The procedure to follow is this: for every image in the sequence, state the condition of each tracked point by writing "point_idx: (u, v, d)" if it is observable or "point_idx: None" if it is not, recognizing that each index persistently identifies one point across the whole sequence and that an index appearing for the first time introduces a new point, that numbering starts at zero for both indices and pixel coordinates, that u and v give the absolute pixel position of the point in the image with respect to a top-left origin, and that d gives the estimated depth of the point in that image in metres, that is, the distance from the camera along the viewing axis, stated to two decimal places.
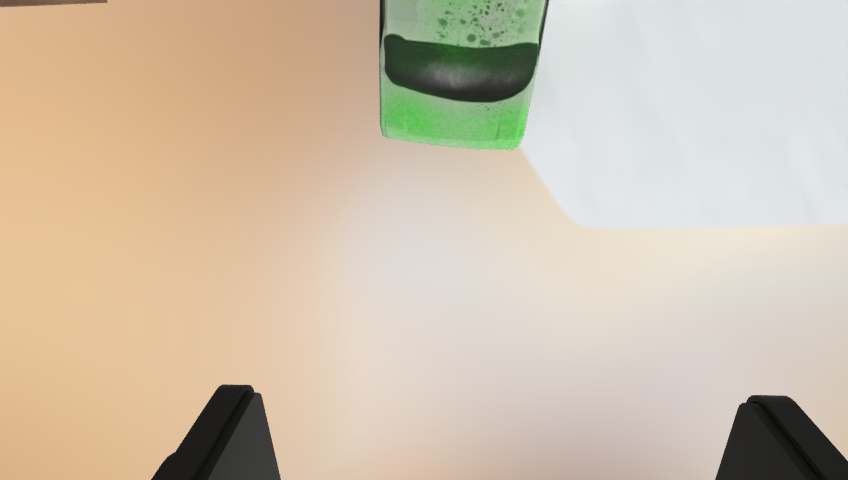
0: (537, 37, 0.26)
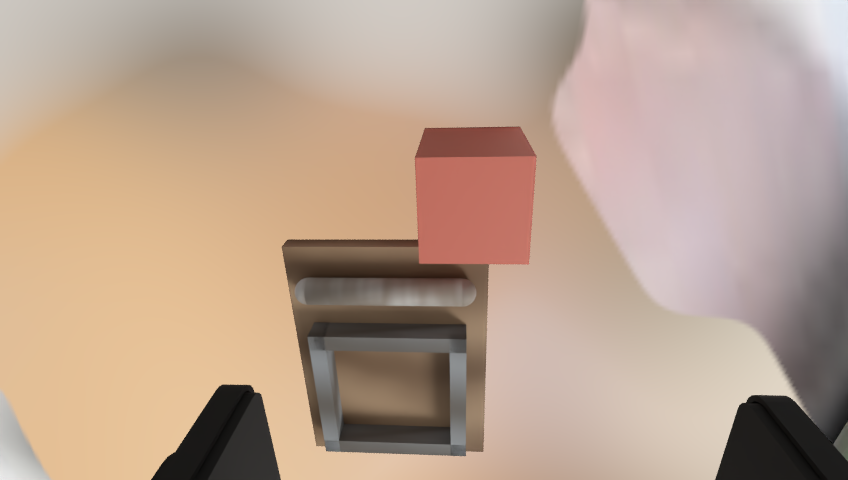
0: None
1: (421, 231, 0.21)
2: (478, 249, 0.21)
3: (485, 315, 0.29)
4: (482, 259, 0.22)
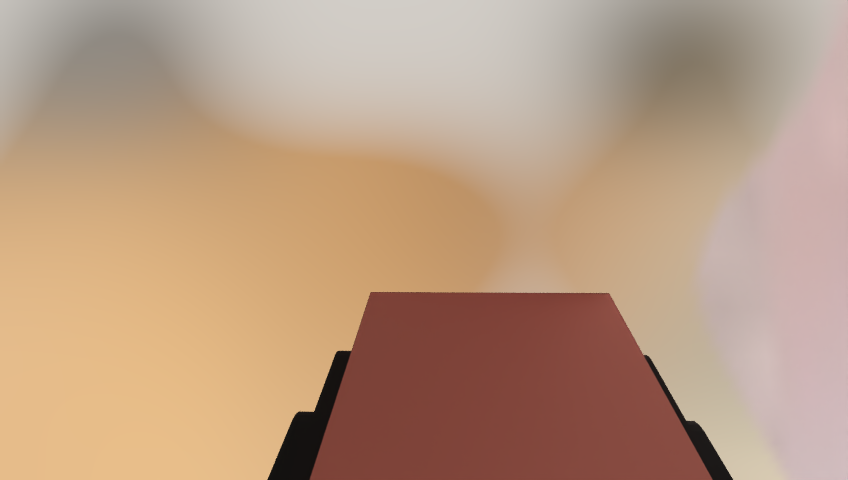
0: None
1: None
2: None
3: None
4: None
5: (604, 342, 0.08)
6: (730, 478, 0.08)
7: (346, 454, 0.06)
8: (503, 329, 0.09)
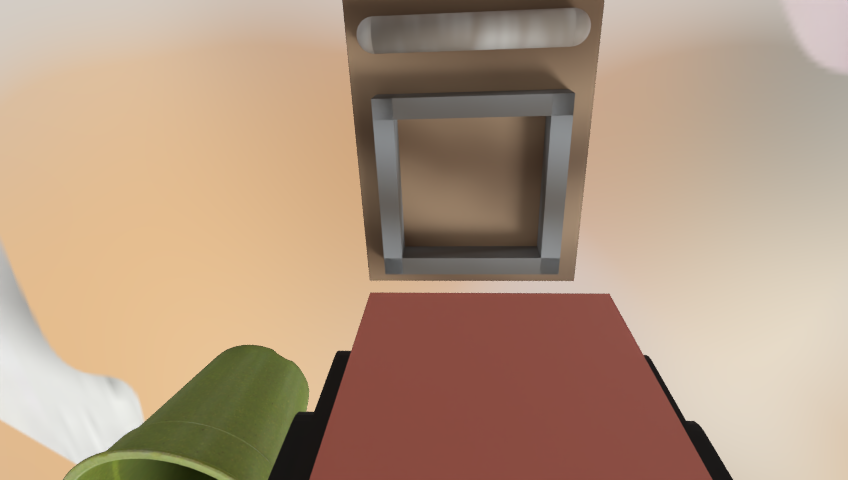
0: None
1: None
2: None
3: (594, 73, 0.23)
4: None
5: (604, 343, 0.08)
6: (730, 478, 0.08)
7: (345, 455, 0.06)
8: (503, 330, 0.09)
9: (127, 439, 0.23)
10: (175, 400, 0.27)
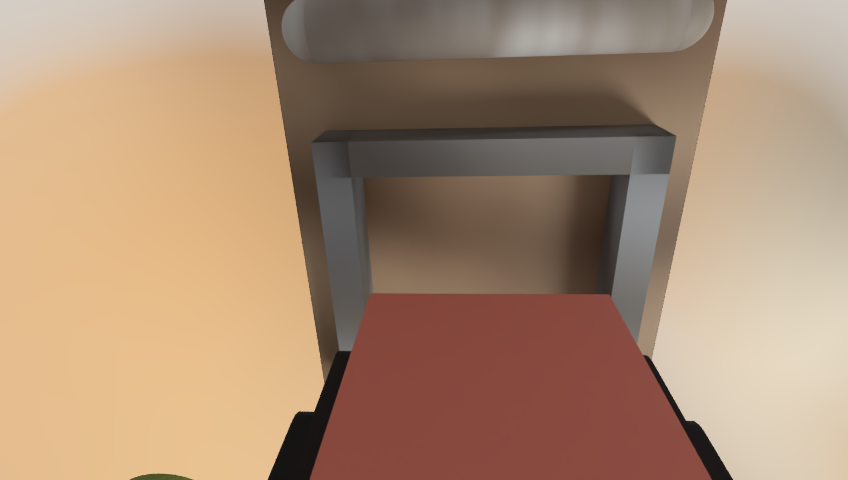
0: None
1: None
2: None
3: (702, 98, 0.13)
4: None
5: (604, 343, 0.08)
6: (730, 478, 0.08)
7: (345, 456, 0.06)
8: (503, 330, 0.09)
9: None
10: None
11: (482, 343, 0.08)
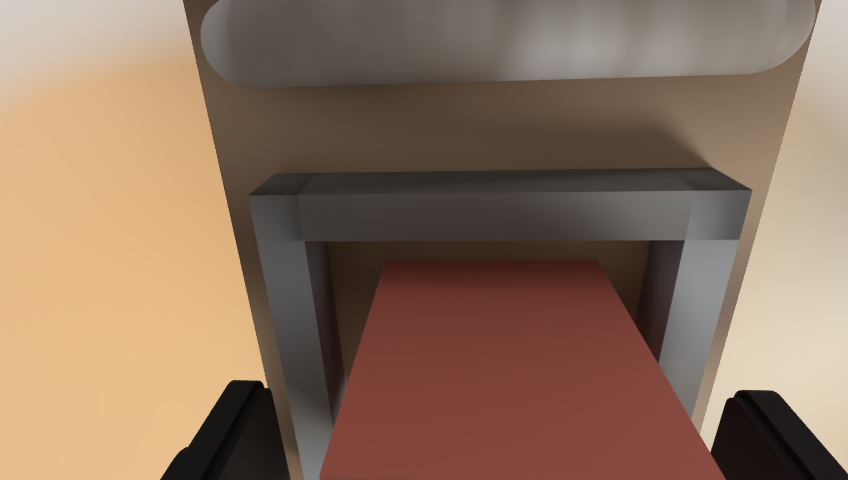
0: None
1: None
2: None
3: (778, 134, 0.10)
4: None
5: (591, 297, 0.10)
6: None
7: (372, 379, 0.08)
8: (503, 288, 0.10)
9: None
10: None
11: (485, 297, 0.10)
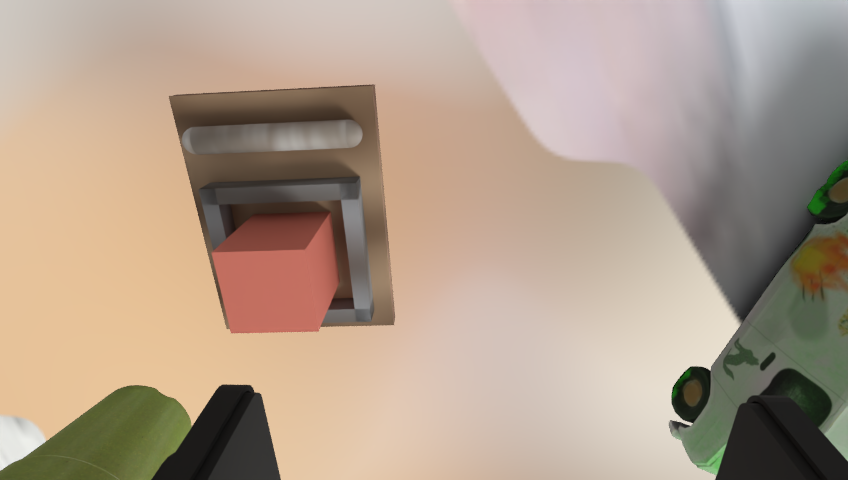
0: None
1: (227, 308, 0.26)
2: (275, 320, 0.26)
3: (377, 164, 0.29)
4: (280, 328, 0.26)
5: (315, 220, 0.29)
6: None
7: (232, 239, 0.26)
8: (289, 219, 0.29)
9: (1, 472, 0.28)
10: (54, 437, 0.31)
11: (280, 222, 0.29)
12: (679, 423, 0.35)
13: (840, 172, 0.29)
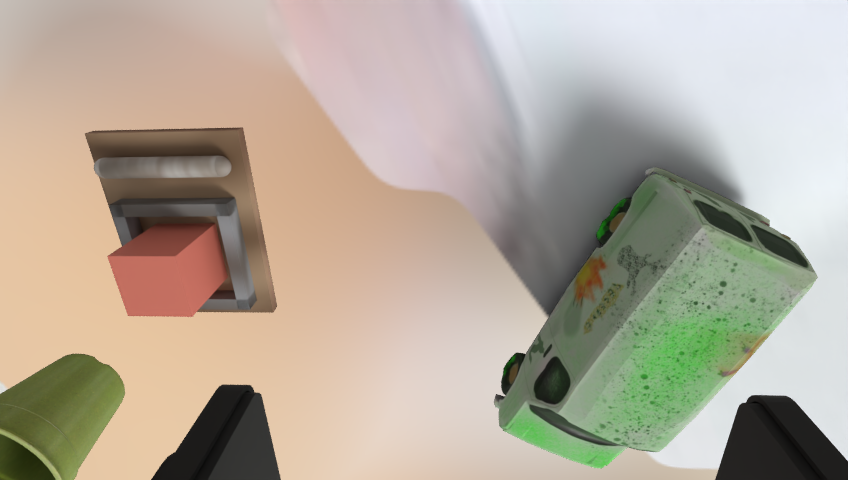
0: None
1: (123, 297, 0.35)
2: (160, 307, 0.35)
3: (247, 189, 0.37)
4: (164, 313, 0.35)
5: (198, 231, 0.37)
6: None
7: (128, 245, 0.35)
8: (179, 229, 0.37)
9: None
10: (6, 391, 0.41)
11: (172, 231, 0.37)
12: (502, 397, 0.43)
13: (618, 208, 0.36)
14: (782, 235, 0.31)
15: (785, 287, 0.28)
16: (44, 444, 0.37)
